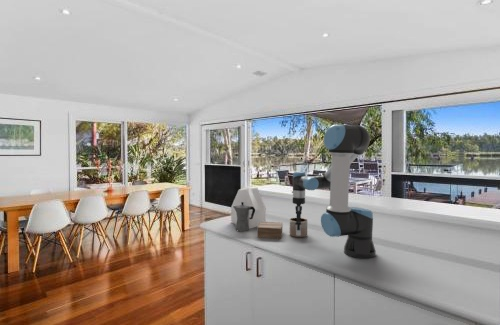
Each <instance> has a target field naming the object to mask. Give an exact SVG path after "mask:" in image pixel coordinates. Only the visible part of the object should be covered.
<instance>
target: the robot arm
mask: <svg viewBox="0 0 500 325" xmlns="http://www.w3.org/2000/svg"><path fill="white" fill-rule="evenodd" d="M370 142H371V136H370V133H369V131H368V130H367V129H366V128H365V127H364V126H361V125H358V124H355V125H354V124H332V125H331V126H329V127H328V128H327V129H326V131H325V133H324V136H323V144H324V146H325V148H326V149H328V154H330V156H331V163H330V164H331V165H330V166H329V168H328V169H327V170H326V172H324V174H323V175H313V176H312V175H311V176H309V175H307V176H306V173H305V171H293V172H292V190H291V194H292V204H293V205H295V208H294V209H295V214H296V216H295V218H297V220H296V223H295V225H296V235H299V236H301V218H302V211H303V206H302V205H304V204H305V203H306V190H307V191H315V190H323V189H325V190H326V189H329V205H327V207H325V208H326V210H325V212H324V213H322V215H321V216H320V225H321V228H322V230H323V232H324V233H325V235H327V236H329V237H332V238H334V237H336V238H337V237H344V236H347V238H346V240H345V241H346V242H345V243H344V247H343V252H344V254H345V255H347V256H350V257H353V258H358V259H372V258H374V257H376V255H377V254H376V248H375V244H374V242H373V228H374V226H373V225H374V218H373V217H374V215H373V212H372V210H370V209H366V208H363V207H357V206H349V193H350V192H349V190H350V174H351V173H350V168H351V164H352V163H354V161H355V160H356V159H357V157H359V156H362V155H363V154H364V152H365V151H366V150H367V149H368V146H369V145H370Z"/></svg>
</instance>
